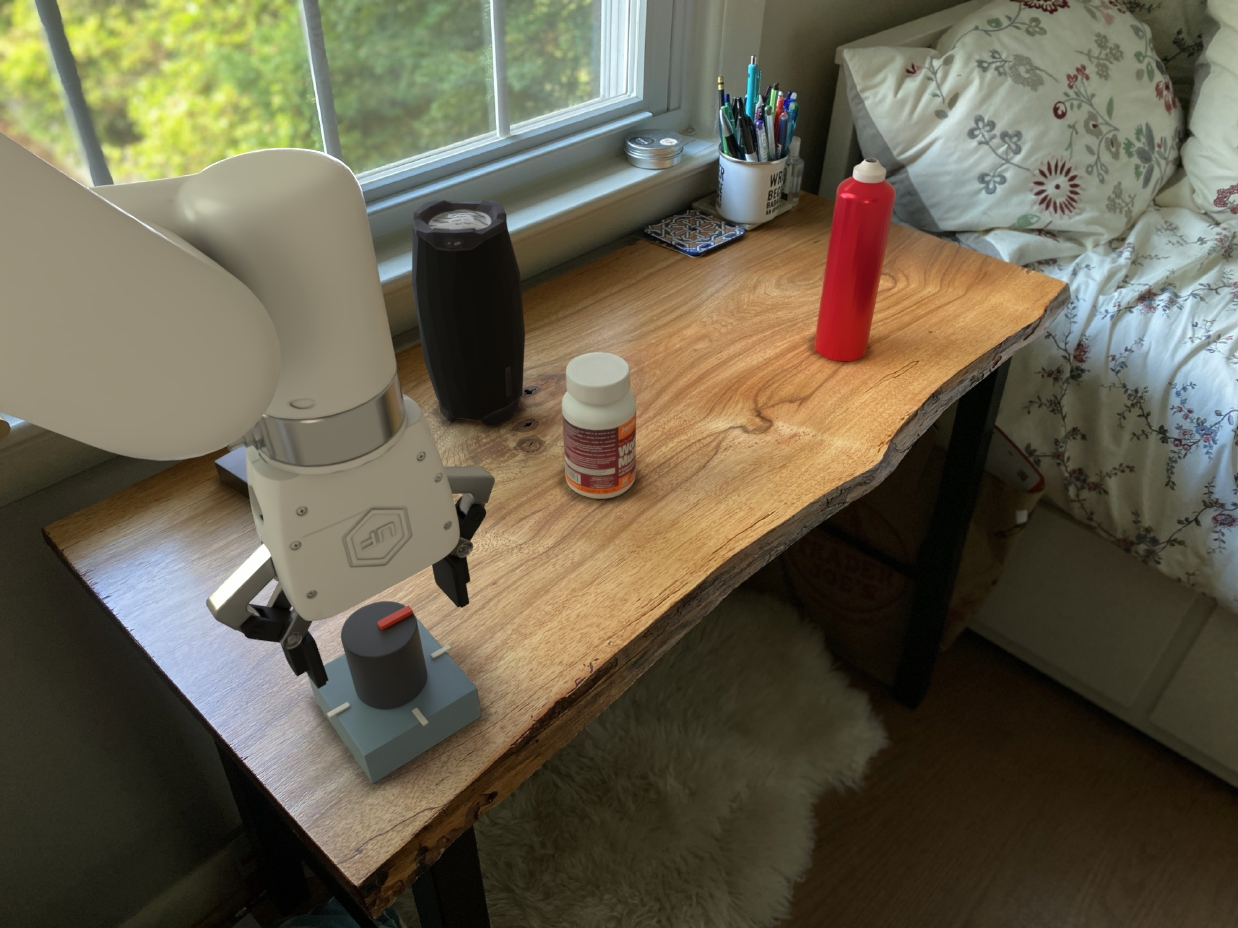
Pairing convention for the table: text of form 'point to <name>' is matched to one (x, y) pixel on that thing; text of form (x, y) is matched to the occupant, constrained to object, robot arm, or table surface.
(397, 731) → the panel
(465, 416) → the portable speaker
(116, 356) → the robot arm
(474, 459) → the table surface
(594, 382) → the pill bottle
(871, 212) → the bottle
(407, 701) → the dial
